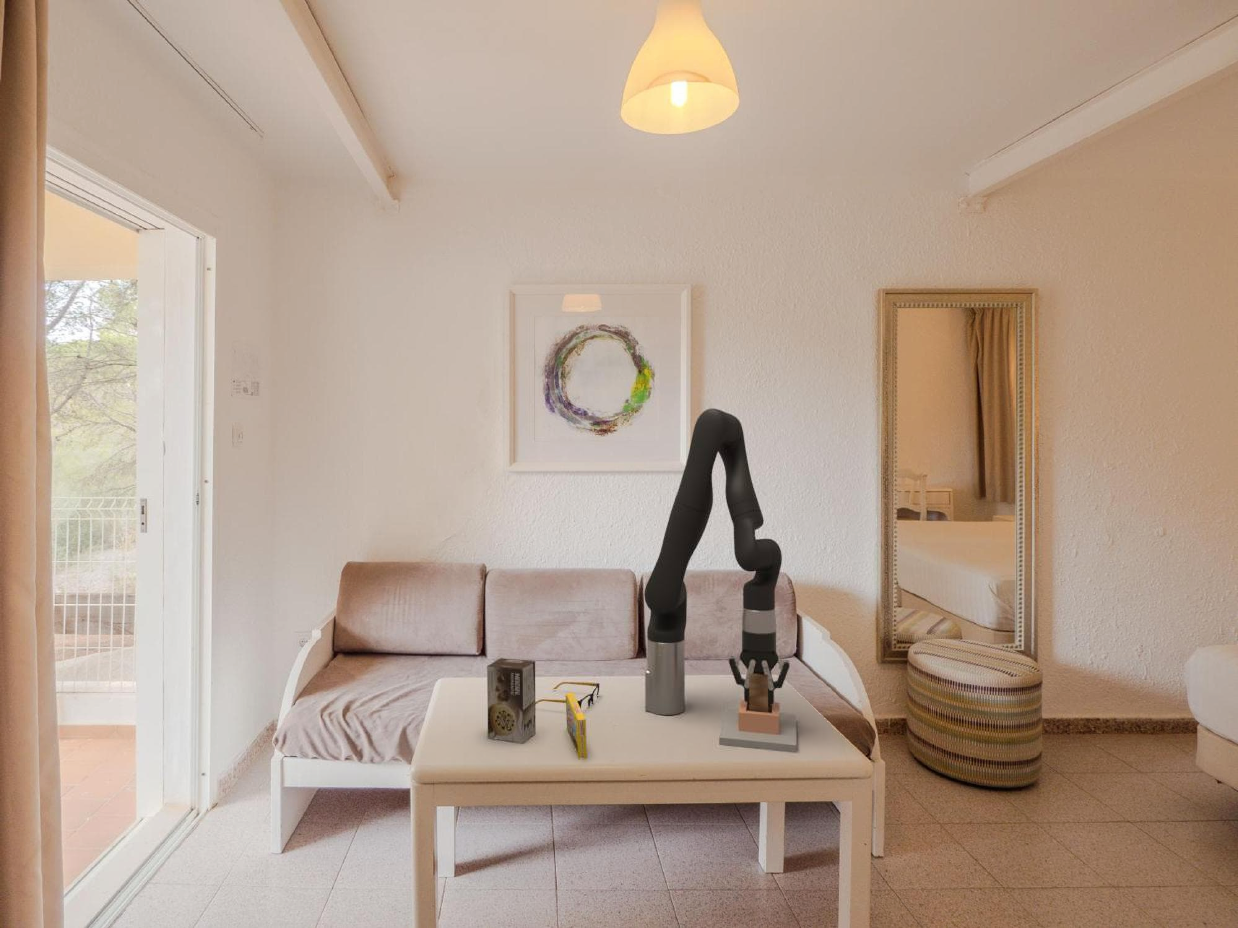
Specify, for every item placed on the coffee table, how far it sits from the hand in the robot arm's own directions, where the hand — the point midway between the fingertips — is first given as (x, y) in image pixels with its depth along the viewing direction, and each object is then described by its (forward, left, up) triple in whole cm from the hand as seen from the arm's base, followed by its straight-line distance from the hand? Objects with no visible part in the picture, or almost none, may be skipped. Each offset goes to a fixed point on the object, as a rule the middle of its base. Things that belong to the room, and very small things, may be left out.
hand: (759, 704), depth 147 cm
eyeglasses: (-48, +7, -7) cm, 49 cm away
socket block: (0, 0, -6) cm, 6 cm away
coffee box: (-53, -16, -6) cm, 56 cm away
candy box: (-38, -16, -7) cm, 42 cm away
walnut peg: (0, 0, -3) cm, 3 cm away
